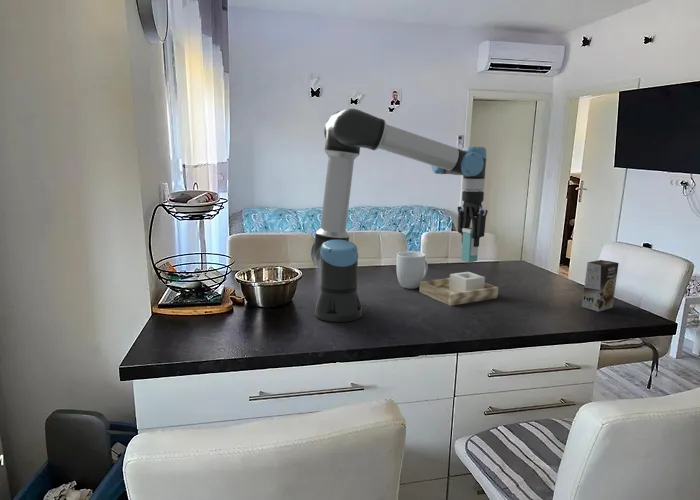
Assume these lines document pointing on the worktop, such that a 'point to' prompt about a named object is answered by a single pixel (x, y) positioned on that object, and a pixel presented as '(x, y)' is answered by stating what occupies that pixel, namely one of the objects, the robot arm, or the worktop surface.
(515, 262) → the worktop surface
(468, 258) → the plug
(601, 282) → the coffee box
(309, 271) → the worktop surface
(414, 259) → the mug
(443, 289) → the wooden tray
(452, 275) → the inlet
